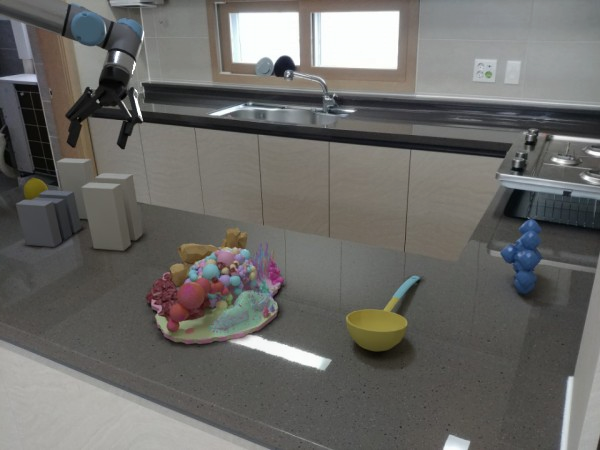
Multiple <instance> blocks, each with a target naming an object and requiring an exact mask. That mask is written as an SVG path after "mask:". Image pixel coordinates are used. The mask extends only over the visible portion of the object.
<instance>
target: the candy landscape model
mask: <svg viewBox="0 0 600 450" xmlns="http://www.w3.org/2000/svg"><path fill="white" fill-rule="evenodd" d="M247 242H248V232H247V231H244V232H241V230H240V229H239V228H238V227H233V228H229V229H227V230H225V238H222V243H221V246H220V247H216V246H214V245H212V244H198V243H193V242H192V243H183V244H182V245H180V246H179V247H178V248H177V249H176V251H177V253H178V255H179V257H180V260H181V261H179V262H178V263H174V264H172V265H170V267H169V272H164V273H163V274H162V277H161V278H157V279H156V280H155V281H154V282H153V283H152V288H151V289H150V290H149V292H148V293H147V294H146V295H145V300H146V301H147V303H148V304H150V305H151V310H154V311H156V312H157V313H156V314H155V315H154V320H155V322H156V327H157V328H158V329H160V331H161V333H162V334H163V337H164V338H166V339H167V340H168V339H169V340H170V341H173V342H174V343H183V344H185V345H191V344H198V345H203V344H211V343H213V342H226V341H228V340H232V339H239V338H240V339H241V338H244V337H245V336H247V335H248V334H252V333H254V332H259V331H260V330H262V329H263V328H265V326H267V325H268V324H269V323H270V322H272V321H273V320H274V319H275V318H276V317H278V312H279V306H278V303H277V301H275V300H274V296H275V295H276V294H277V293H278V290H280V289H281V285H283V284H284V282H285V279H284V278H283V277H281V275H280V274H281V269H280V268H278V263H276V262H275V261H274V259H275V251H274V250H273V249H272V250H271V253H270V252H268V251H269V243H268V242H267V241H265V247H264V251H263V249H262V247H263V244H262V240H260V241H259V244H258V249H257V251H258V252H257V251H255V255H253V257H252V254H251V252H250V248H248V249H246V248H247Z"/></svg>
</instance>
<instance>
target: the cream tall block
mask: <svg viewBox="0 0 600 450" xmlns="http://www.w3.org/2000/svg"><path fill="white" fill-rule="evenodd" d="M55 162H56V168H57V171H58V176H59V181H60V186H61V189H62V190H61V191H72V192H74V195H75V200H76V205H77V209H78V214H79V219H80V220H88V218H87V213H86V208H85V203H84V198H83V193H82V188H81V187H83V186H84V185H86V184H88V183H90V182H91V183H96V180H95V175H94V170H93V164H92V159H91V158H70V157H69V158H67V157H63V158H61V159H59V160H57V161H55Z"/></svg>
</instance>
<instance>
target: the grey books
mask: <svg viewBox="0 0 600 450" xmlns="http://www.w3.org/2000/svg"><path fill="white" fill-rule="evenodd" d="M39 197H40V198H39ZM39 197H36V198H34V199H32V200H26V199H22V200H20V201H19V202H17V203H15V206H16V207H15V208H16V212H17V216H18V218H19V222H20V226H21V230H22V234H23V238H24V242H25V245H26V246H37V247H49V248H56V247H57V246H58V245H60V244H62V242H63V241H66V240H67V239H68V238H70V237H72V236H73V234H76V233H78V232H79V231H80V230H81V229H82V224H81V219H79V214H78V209H77V205H76V200H75V195H74V192H72V191H63V190H54V189H53V190H51V189H48V190H46V191H44V192H42V193H40V194H39Z"/></svg>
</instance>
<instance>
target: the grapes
mask: <svg viewBox="0 0 600 450" xmlns="http://www.w3.org/2000/svg"><path fill="white" fill-rule="evenodd" d="M518 231H519V233H520V234H521V235H520V237H519V238H518V239H517V240H516V241H515V242H514V243H515V245H514V244H508V245H506V246H505V247H504V248H503V249H502V250H501V251H500V252H499V254H500V256H501V257H502V259H503V261H504V262H505V263H507V264H509V265H511V264H512V269H513V271H514V272H515V274H514V275H513V279H514V282H513V285H514V287H515V288H516V290H517V292H519V293H520V294H523V295H526V294H528V293H530V292H531V291H532V290H533V289H534V288H535V287H536V284H535V283H536V282H537V280H538V278H537V276H536V274H535V273H534V271H535V269H536V267H537V266H538V265H539V263H541V260H543V259H544V258H543V257H544V256H543V255H542V254H541V252H540V251H539V250H538V249H537V248H538V247H539V246H540V245H541V244H542V242H543V241H542V239H541V237H540V236H539V234H540V232H542V228H541V226H540V224H538V222H537V221H536V220H535V219H533V218H530V219H527V220H526V221H524V222H523V224H522V225H520V227H519V228H518Z"/></svg>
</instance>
